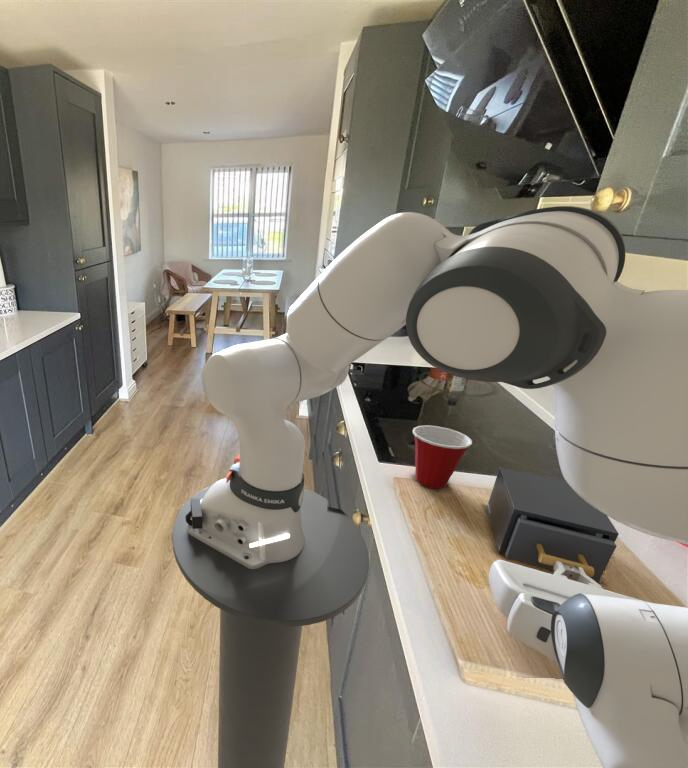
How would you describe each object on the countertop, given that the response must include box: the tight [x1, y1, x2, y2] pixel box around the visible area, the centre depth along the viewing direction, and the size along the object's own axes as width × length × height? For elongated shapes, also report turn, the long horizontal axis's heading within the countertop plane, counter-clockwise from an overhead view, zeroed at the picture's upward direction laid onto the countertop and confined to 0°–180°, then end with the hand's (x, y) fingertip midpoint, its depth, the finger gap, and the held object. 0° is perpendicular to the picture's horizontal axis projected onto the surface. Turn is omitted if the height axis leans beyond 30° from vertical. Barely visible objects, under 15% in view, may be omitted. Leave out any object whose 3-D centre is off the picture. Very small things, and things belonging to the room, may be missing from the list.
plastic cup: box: [412, 424, 473, 490], centre depth 87 cm, size 11×11×12 cm
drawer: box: [504, 514, 617, 584], centre depth 67 cm, size 16×11×8 cm
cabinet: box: [486, 467, 619, 555], centre depth 70 cm, size 14×13×10 cm
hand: (567, 567), depth 60 cm, fingers closed, pressing on drawer
